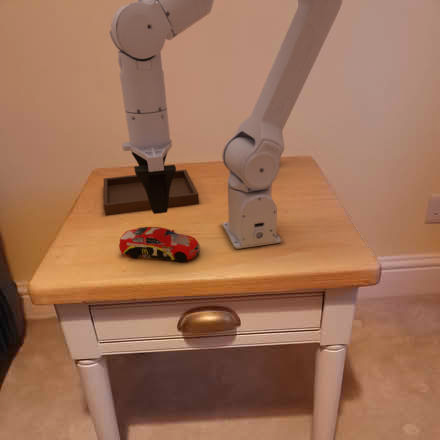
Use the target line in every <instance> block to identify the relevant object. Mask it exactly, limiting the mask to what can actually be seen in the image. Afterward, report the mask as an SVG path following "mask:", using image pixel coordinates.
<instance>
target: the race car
mask: <svg viewBox="0 0 440 440" xmlns="http://www.w3.org/2000/svg"><path fill="white" fill-rule="evenodd" d="M118 248H119V252H120V253H121V254H122V255H124V256H127V257H128V256H129V257H130V258H132V259H134V260H135V259H136V260H137V259H139V258H145V259H146V258H147V259H160V260H171V261H176V262H178V263H185V262H186V261H187V260H191V259H193V258H195V257H196V256H198V255H199V253H200V250H201V245H200V244H199V241H198V240H197V239H196V238H195V237H193V236H192V235H187V234H182V233H178V232H175V230H174V229H172V230H171V229H168V228H166V227H161V226H144V227H143V226H142V227H141V226H140V227H138V228H133V229H129V230H126V231H125V232H124V233H123V234H122V235H121V236H120V238H119V243H118Z"/></svg>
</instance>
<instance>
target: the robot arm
mask: <svg viewBox="0 0 440 440" xmlns="http://www.w3.org/2000/svg"><path fill="white" fill-rule="evenodd" d="M214 1H215V0H137V1H132V2H129V3H127V4H123V5H121V6H120V7H118V8H117V10H116V11H115V12H114V14H113V16H112V19H111V23H110V30H109V36H110V39H111V41H112V43H113V44H114V46H115V47H116V48H117V50H118V51H117V55H118V57H117V62H118V67H119V69H120V71H119V79H120V84H121V92H122V98H123V105H124V113H125V118H126V125H127V133H128V138H129V141H126V142H122V143H121V147H122V151H124V152H131V154H132V157H133V158H134V159H135V161H136V163H137V165H134V166H133V167H134V168H133V169H134V173H135V174H134V175H137V177H138V178H139V180H140V181H141V183H142V185H143V187H144V189H145V191H146V194H147V197H148V200H149V203H150V206H151V211H152V214H153V215H157V214H165V213H168V210H169V207H168V204H169V193H170V186H171V182H172V179H173V177H174V175H175V172H176V171H177V166H176V165H175V164H167V165H165V163H166V158H167V155H168V153H169V151H170V150H171V149H172V147H173V142H172V141H173V140H172V139H171V137H170V136H171V135H170V125H169V115H168V105H167V104H168V103H167V95H166V84H165V73H164V70H163V64H162V54H161V53H162V50H163V48H164V46H165V43H166V40H167V41H171V40H173V39H174V38H176V37H177V36H179V35H180V34H182V33H183V32H185V31H186V30H188V29H189V28H191V27H192V26H193V25H196V23H198V22H199V21H201V20H202V19H204V18H205V17H207V16H208V15H210V14H211V12H212V10H213V6H214ZM297 3H298V6H297V8H296V11H295V13H294V15H293V17H292V19H291V22H290V24H289V27H288V29H287V31H286V33H285V36H284V38H283V41H282V43H281V45H280V47H279V50H278V52H277V54H276V56H275V59H274V61H273V64H272V66H271V68H270V69H269V73H268V75H267V77H266V79H265V81H264V84H263V87H262V89H261V90H260V93H259V95H258V98H257V99H256V102H255V104H254V107H253V109H252V111H251V114H250V115H249V116H248V117H247V118H246V119H244V120H243V122H241V123H239V125H238V127H237V130H236V132H235V133H234V134H233V136H231V138H230V139H228V140H227V141H226V143H225V144H224V147H223V149H222V155H221V157H222V163H223V165H224V166H225V168H226V169H227V170H228V173H229V175H228V178H227V200H228V201H227V204H228V208H227V209H228V221H226V222H222V227H223V229H224V230H225V232H226V234H227V237H228V238H229V240H230V242H231V244H232V246H233V247H234V249H237V250H238V249H244V248H245V249H246V248H253V247H260V246H266V245H273V244H280V243H281V242H282V239H281V237H280V236H279V235H278V233H277V222H278V221H277V219H278V208H277V204H276V203H275V201H274V199H273V195H272V193H273V192H272V190H273V188H272V187H273V183H274V182H275V181H276V179H277V177H278V175H279V174H280V173H279V172H280V165H281V158H282V155H283V153H284V150H285V142H284V141H285V140H284V134H283V131H284V128H285V126H286V124H287V122H288V119H289V118H290V116H291V114H292V111H293V110H294V107H295V106H296V103H297V101H298V99H299V96H300V94H301V92H302V90H303V88H304V87H305V84H306V81H307V80H308V78H309V76H310V74H311V70H312V69H313V67H314V65H315V62H316V61H317V58H318V57H319V55H320V52H321V50H322V48H323V46H324V43H325V42H326V40H327V37H328V35H329V33H330V31H331V29H332V27H333V25H334V22H335V20H336V18H337V16H338V14H339V12H340V10H341V7H342V4H343V0H297Z"/></svg>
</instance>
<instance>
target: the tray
mask: <svg viewBox="0 0 440 440" xmlns="http://www.w3.org/2000/svg"><path fill="white" fill-rule="evenodd" d="M199 196H200V195H199V193H198V191H197V188H196V186H195V185H194V182H193V180H192V179H191V177H190V174H189V172H188V171H187V169H179V170H177V169H176V172H175V175H174V177H173V179H172V182H171V186H170V193H169V204H168V208H176V207H183V206H192V205H199V204H200V198H199ZM103 210H104V215H105V216H109V215H111V216H112V215H119V214H125V213H134V212H142V211H143V212H144V211H152V209H151V206H150V203H149V200H148V197H147V194H146V191H145V189H144V187H143V185H142V183H141V181H140V180H139V178H138V177H137V175H136V174H132V175H131V174H130V175H123V176H114V177H113V176H112V177H104V178H103Z"/></svg>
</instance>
